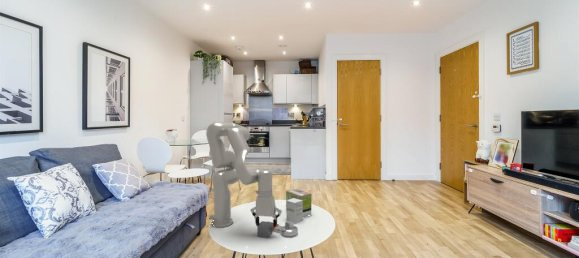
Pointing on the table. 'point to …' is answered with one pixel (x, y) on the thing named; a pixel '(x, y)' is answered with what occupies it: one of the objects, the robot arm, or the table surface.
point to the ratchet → (286, 229)
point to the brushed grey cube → (264, 229)
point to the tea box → (301, 196)
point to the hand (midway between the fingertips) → (266, 225)
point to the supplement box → (294, 210)
